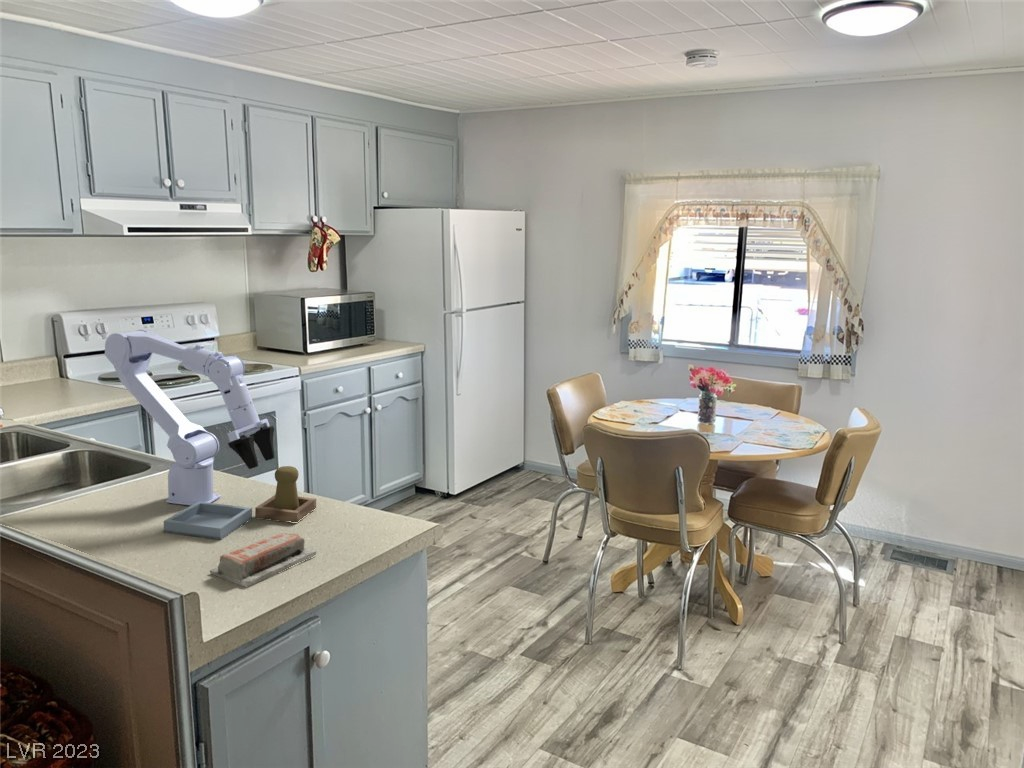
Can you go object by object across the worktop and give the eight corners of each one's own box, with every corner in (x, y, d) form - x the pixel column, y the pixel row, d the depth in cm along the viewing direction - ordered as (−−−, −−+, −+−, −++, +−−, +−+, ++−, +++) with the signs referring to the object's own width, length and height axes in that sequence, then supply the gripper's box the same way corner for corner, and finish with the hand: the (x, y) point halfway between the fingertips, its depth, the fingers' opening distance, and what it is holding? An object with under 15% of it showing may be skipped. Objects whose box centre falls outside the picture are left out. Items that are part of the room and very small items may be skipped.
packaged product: (246, 565, 142) (209, 552, 147) (246, 590, 143) (209, 576, 147) (317, 535, 157) (281, 524, 162) (317, 558, 158) (281, 546, 163)
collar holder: (255, 518, 176) (255, 507, 176) (276, 504, 186) (276, 493, 185) (297, 523, 175) (297, 512, 174) (316, 508, 184) (316, 498, 184)
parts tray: (163, 532, 165) (163, 521, 165) (199, 511, 178) (198, 501, 178) (220, 539, 163) (220, 528, 163) (252, 518, 176) (252, 508, 175)
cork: (295, 519, 177) (296, 472, 175) (269, 517, 177) (269, 470, 175) (303, 509, 183) (303, 464, 181) (277, 508, 183) (277, 462, 181)
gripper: (239, 408, 170) (261, 466, 171) (271, 396, 184) (291, 451, 185) (211, 417, 172) (234, 475, 173) (245, 405, 186) (266, 459, 187)
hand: (262, 463), depth 179 cm, fingers open, 7 cm apart
